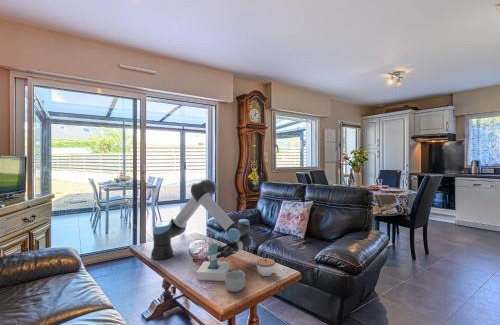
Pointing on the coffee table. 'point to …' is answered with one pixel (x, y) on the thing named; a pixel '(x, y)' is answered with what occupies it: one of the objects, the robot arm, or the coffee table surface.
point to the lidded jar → (265, 266)
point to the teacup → (235, 280)
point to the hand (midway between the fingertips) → (207, 256)
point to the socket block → (213, 271)
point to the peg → (212, 252)
